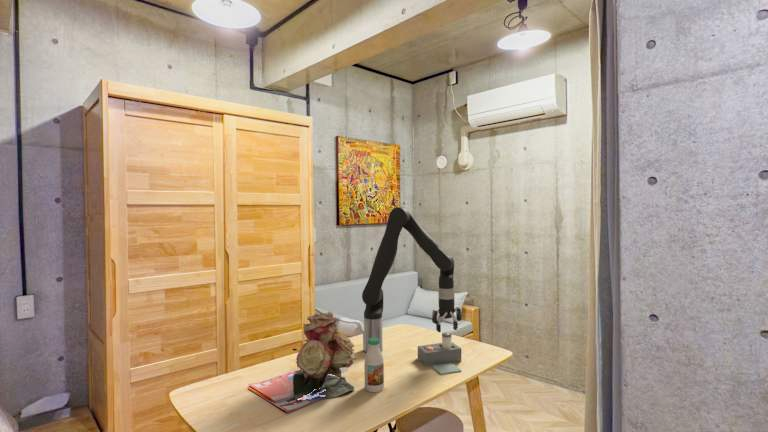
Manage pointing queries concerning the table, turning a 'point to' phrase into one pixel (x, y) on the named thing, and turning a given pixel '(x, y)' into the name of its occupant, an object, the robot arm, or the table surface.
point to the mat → (446, 368)
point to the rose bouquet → (323, 358)
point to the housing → (439, 354)
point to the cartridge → (446, 340)
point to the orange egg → (429, 348)
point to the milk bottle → (374, 367)
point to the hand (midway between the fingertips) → (447, 330)
